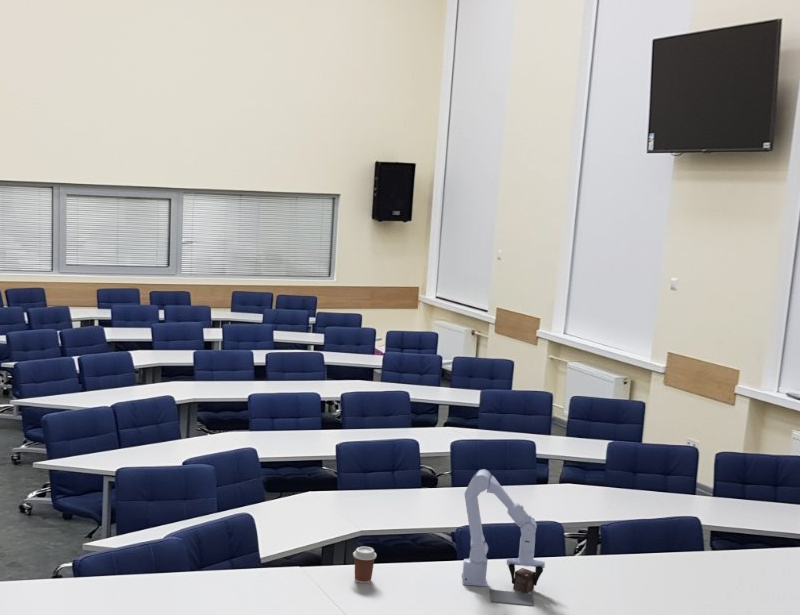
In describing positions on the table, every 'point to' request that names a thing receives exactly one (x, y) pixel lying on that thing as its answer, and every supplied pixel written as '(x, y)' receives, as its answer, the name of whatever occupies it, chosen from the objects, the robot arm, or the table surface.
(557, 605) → the table surface
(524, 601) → the desk mat
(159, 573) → the table surface
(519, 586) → the box
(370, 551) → the coffee cup
